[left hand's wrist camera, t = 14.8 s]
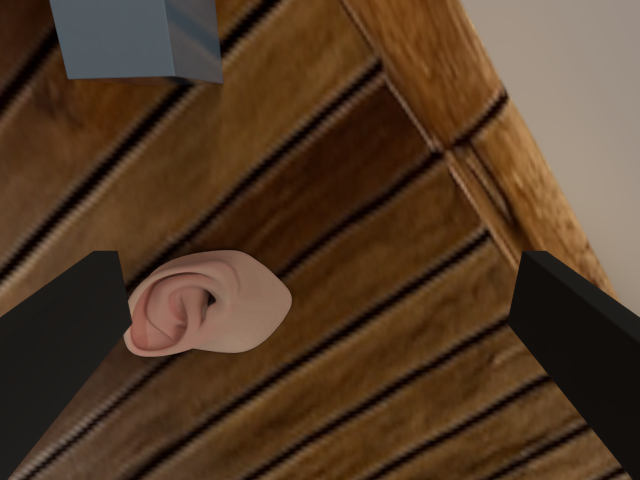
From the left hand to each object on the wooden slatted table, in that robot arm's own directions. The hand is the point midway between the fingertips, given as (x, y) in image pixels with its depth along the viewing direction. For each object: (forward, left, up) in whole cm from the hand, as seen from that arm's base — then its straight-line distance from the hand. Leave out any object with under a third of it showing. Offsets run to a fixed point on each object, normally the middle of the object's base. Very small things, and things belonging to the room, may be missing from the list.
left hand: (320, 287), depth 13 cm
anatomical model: (-15, -2, -20) cm, 25 cm away
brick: (-1, +14, -20) cm, 24 cm away
